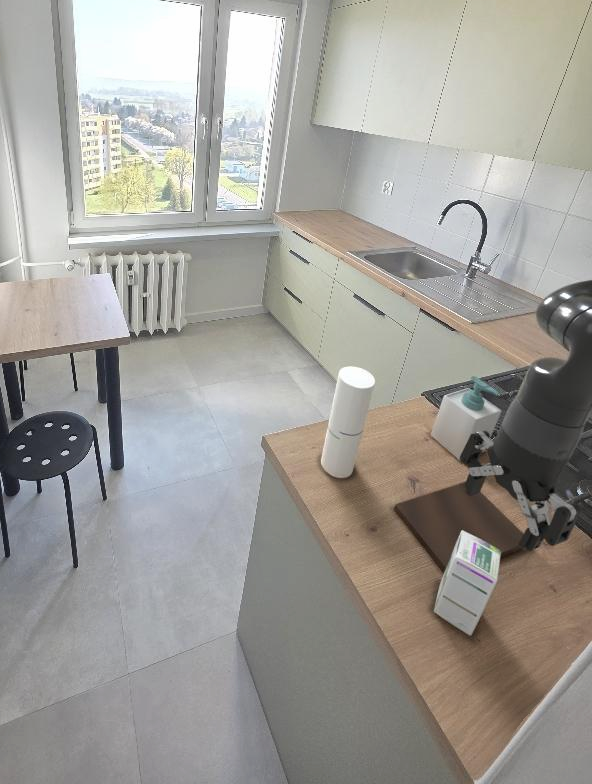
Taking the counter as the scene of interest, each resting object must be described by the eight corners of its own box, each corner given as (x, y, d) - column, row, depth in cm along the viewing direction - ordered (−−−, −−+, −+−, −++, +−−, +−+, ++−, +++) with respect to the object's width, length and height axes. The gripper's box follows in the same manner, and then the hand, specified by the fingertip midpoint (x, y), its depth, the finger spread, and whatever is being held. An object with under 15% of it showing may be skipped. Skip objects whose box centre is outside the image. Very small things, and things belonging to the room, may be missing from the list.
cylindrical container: (350, 482, 92) (373, 392, 82) (318, 470, 94) (336, 381, 84) (354, 459, 98) (376, 372, 88) (324, 448, 100) (341, 362, 90)
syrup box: (471, 638, 66) (500, 582, 60) (431, 611, 69) (455, 556, 63) (476, 606, 70) (504, 550, 64) (438, 582, 74) (461, 527, 68)
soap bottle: (460, 462, 98) (485, 398, 90) (430, 435, 106) (450, 374, 98) (485, 452, 101) (512, 389, 93) (454, 426, 109) (476, 366, 101)
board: (467, 485, 92) (468, 480, 92) (528, 546, 80) (531, 541, 80) (393, 509, 86) (395, 504, 86) (448, 578, 74) (450, 573, 74)
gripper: (619, 472, 49) (565, 559, 56) (507, 393, 61) (474, 472, 68) (576, 487, 47) (525, 576, 53) (468, 403, 59) (438, 483, 66)
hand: (496, 518), depth 61 cm, fingers open, 8 cm apart
